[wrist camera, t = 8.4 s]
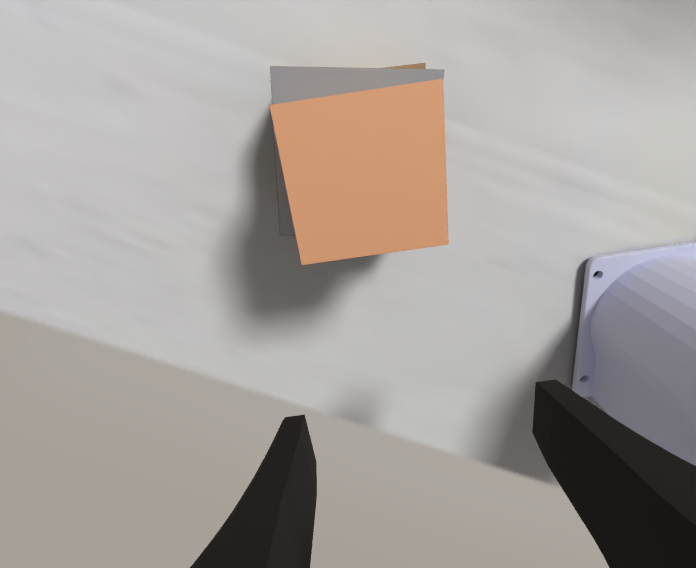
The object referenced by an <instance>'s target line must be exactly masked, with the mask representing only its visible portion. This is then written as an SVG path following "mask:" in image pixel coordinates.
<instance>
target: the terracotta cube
mask: <svg viewBox="0 0 696 568" xmlns="http://www.w3.org/2000/svg"><path fill="white" fill-rule="evenodd" d="M270 110H271V115H272V120H273V125H274V130H275V135H276V140H277V145H278V150H279V155H280V160H281V165H282V170H283V175H284V180H285V185H286V190H287V194H288V199H289V204H290V209H291V214H292V219H293V224H294V229H295V234H296V239H297V244H298V249H299V254H300V259H301V264H302V265H306V264H313V263H320V262H327V261H334V260H341V259H348V258H356V257H363V256H370V255H377V254H384V253H391V252H398V251H405V250H412V249H419V248H426V247H433V246H440V245H447V244H448V214H447V184H446V154H445V124H444V94H443V79H437V80H430V81H424V82H417V83H411V84H404V85H398V86H391V87H384V88H378V89H371V90H365V91H358V92H352V93H345V94H338V95H332V96H325V97H319V98H312V99H306V100H299V101H292V102H286V103H279V104H273V105H270Z"/></svg>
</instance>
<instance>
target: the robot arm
mask: <svg viewBox="0 0 696 568" xmlns="http://www.w3.org/2000/svg"><path fill="white" fill-rule="evenodd" d="M596 271H599V272H598V274H597V275H596V276H594V277H593V275H594V273H595V272H596ZM583 376H584V377H583ZM581 377H583V378H581ZM590 396H592V397H593V398H594V400H595V401H596V402H597V403H598V404H599V405H600V406H601V407H602V409H603V410H604V411H605V412H606V413H607V414H606V413H605V412H603V411H602V410H600V409H599V408H597V407H596V406H594V405H593V404H591V403H590V402H588V401H587V400H585V399H584V398H583V397H590ZM533 434H534V437H535V439H536V441H537V443H538V445H539V448H540V450H541V452H542V454H543V456H544V458H545V460H546V462H547V464H548V466H549V468H550V469H551V471H552V473H553V474H554V476H555V477H556V479H557V481H558V482H559V484H560V486H561V487H562V489H563V490H564V492H565V494H566V495H567V497H568V498H569V500H570V502H571V503H572V505H573V506H574V508H575V510H576V511H577V513H578V514H579V516H580V517H581V519H582V521H583V522H584V524H585V525H586V527H587V529H588V530H589V532H590V533H591V535H592V536H593V538H594V540H595V542H596V543H597V545H598V547H599V549H600V550H601V552H602V554H603V556H604V557H605V559H606V562H607V563H608V565H609V567H610V568H696V241H693V242H686V243H679V244H673V245H666V246H659V247H652V248H645V249H639V250H632V251H625V252H618V253H611V254H604V255H598V256H594V257H592V258H590V259H589V260H588V262H587V264H586V269H585V278H584V287H583V296H582V304H581V313H580V322H579V331H578V340H577V348H576V357H575V366H574V375H573V383H572V390H571V389H569V388H568V387H566V386H565V385H563V384H562V383H560V382H559V381H557V380H549V381H542V382H536V387H535V402H534V417H533ZM316 496H317V477H316V459H315V455H314V451H313V447H312V443H311V439H310V435H309V431H308V427H307V423H306V419H305V415H300V416H292V417H285V418H284V420H283V421H282V424H281V425H280V428H279V430H278V432H277V434H276V436H275V438H274V440H273V442H272V444H271V446H270V448H269V450H268V452H267V454H266V456H265V458H264V460H263V461H262V463H261V465H260V467H259V469H258V471H257V473H256V474H255V476H254V478H253V479H252V481H251V483H250V484H249V486H248V488H247V489H246V491H245V492H244V494H243V496H242V497H241V499H240V501H239V502H238V504H237V505H236V507H235V508H234V510H233V512H232V513H231V514H230V516H229V517H228V519H227V520H226V522H225V523H224V524H223V526H222V527H221V529H220V530H219V531H218V533H217V534H216V535H215V537H214V538H213V540H212V541H211V542H210V543H209V545H208V546H207V547H206V548H205V550H204V551H203V552H202V554H201V555H200V556H199V557H198V559H197V560H196V561H195V562H194V564H193V565H192V566H191V567H190V568H310V561H311V550H312V540H313V529H314V519H315V508H316Z"/></svg>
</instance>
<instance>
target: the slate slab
mask: <svg viewBox="0 0 696 568" xmlns="http://www.w3.org/2000/svg"><path fill="white" fill-rule="evenodd" d="M270 74H271V92H272V105H273V104H279V103H286V102H292V101H299V100H306V99H312V98H319V97H325V96H332V95H338V94H345V93H352V92H358V91H365V90H371V89H378V88H384V87H391V86H398V85H404V84H411V83H417V82H424V81H430V80H437V79H443V77H444V70H435V69H386V68H336V67H286V66H270ZM273 126H274V125H273ZM274 143H275V160H276V177H277V195H278V212H279V229H280V236H296V234H295V229H294V224H293V219H292V214H291V209H290V204H289V199H288V194H287V190H286V185H285V180H284V175H283V170H282V165H281V160H280V155H279V150H278V145H277V140H276V135H275V130H274Z"/></svg>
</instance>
